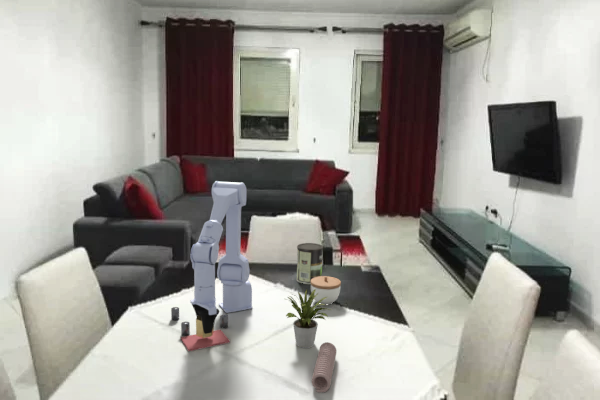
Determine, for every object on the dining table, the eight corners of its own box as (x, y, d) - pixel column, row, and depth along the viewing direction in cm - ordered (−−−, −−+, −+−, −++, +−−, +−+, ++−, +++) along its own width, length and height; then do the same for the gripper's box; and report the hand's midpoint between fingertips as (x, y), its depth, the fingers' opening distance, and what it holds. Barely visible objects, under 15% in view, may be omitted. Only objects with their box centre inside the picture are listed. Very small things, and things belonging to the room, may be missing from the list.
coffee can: (321, 276, 196) (322, 243, 194) (322, 285, 186) (323, 250, 183) (296, 275, 196) (297, 242, 194) (295, 284, 186) (296, 249, 184)
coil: (319, 341, 131) (310, 375, 113) (336, 340, 130) (329, 375, 113) (320, 356, 132) (311, 393, 114) (337, 356, 131) (330, 393, 113)
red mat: (220, 331, 144) (220, 329, 144) (229, 342, 137) (229, 340, 137) (181, 339, 138) (181, 337, 138) (188, 351, 132) (188, 349, 131)
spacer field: (214, 310, 159) (214, 300, 159) (229, 327, 147) (229, 316, 146) (170, 318, 152) (170, 307, 152) (182, 336, 140) (182, 325, 139)
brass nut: (211, 328, 141) (211, 312, 140) (216, 335, 137) (216, 318, 136) (193, 332, 138) (193, 315, 137) (198, 338, 134) (198, 321, 133)
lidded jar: (305, 304, 166) (306, 278, 165) (316, 294, 176) (316, 270, 174) (334, 310, 162) (335, 283, 161) (343, 299, 172) (345, 274, 170)
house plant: (290, 361, 127) (291, 304, 125) (269, 339, 139) (270, 286, 137) (335, 350, 134) (338, 295, 131) (312, 330, 146) (313, 280, 143)
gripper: (183, 278, 139) (184, 321, 142) (198, 295, 127) (199, 342, 129) (207, 274, 143) (207, 317, 145) (223, 291, 130) (223, 337, 132)
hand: (205, 329), depth 137 cm, fingers closed on brass nut, 4 cm apart
